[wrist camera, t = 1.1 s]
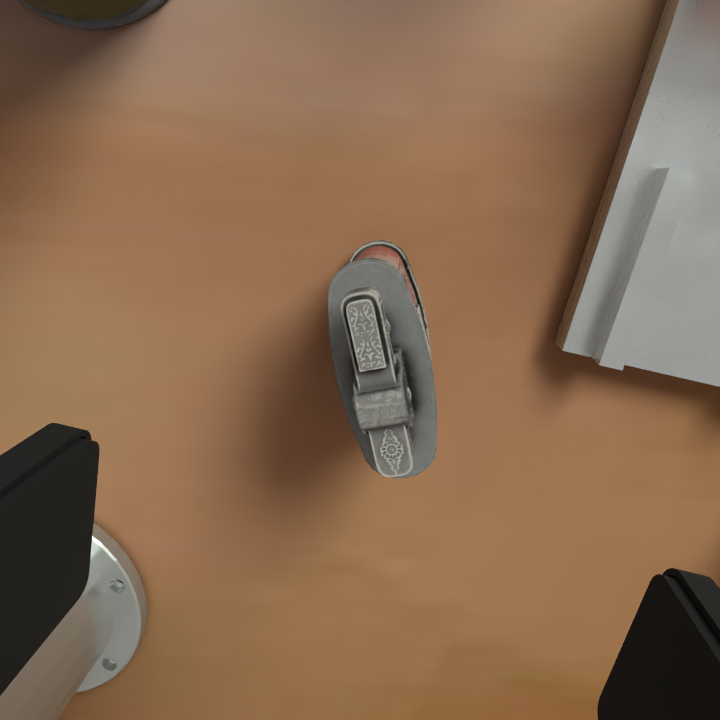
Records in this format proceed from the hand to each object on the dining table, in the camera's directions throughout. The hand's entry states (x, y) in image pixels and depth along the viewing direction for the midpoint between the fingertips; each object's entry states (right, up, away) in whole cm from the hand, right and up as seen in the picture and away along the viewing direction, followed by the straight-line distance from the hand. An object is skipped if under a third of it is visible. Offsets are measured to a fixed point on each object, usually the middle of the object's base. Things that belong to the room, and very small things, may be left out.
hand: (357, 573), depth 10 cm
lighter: (+2, +5, +18) cm, 19 cm away
